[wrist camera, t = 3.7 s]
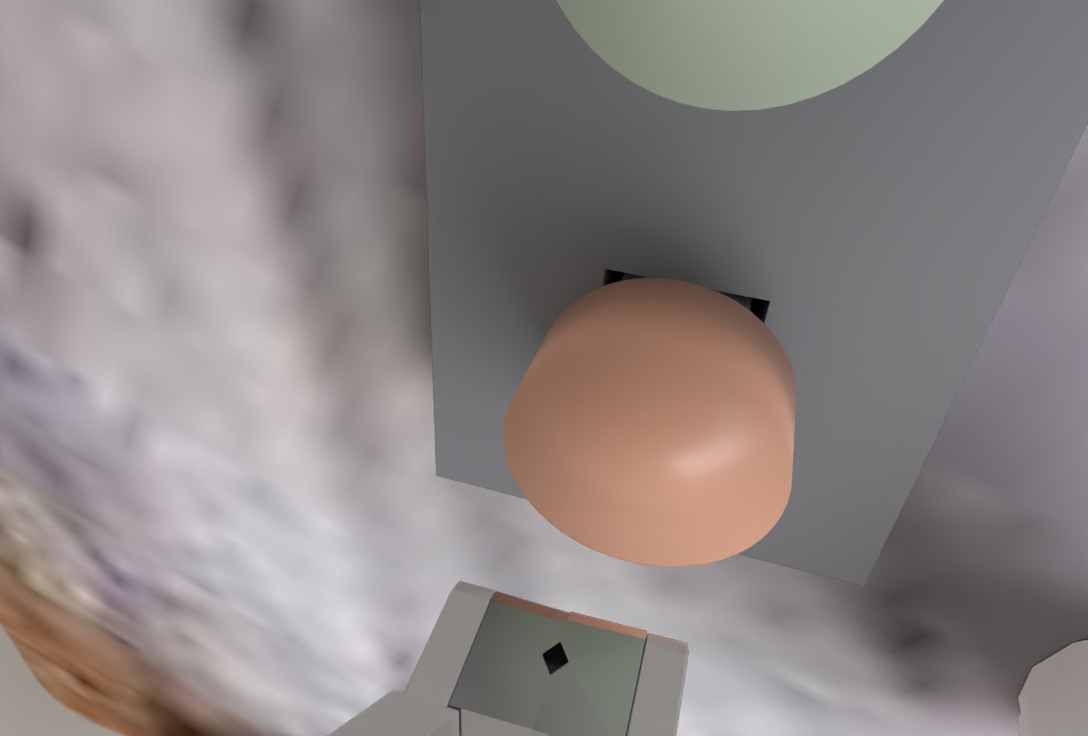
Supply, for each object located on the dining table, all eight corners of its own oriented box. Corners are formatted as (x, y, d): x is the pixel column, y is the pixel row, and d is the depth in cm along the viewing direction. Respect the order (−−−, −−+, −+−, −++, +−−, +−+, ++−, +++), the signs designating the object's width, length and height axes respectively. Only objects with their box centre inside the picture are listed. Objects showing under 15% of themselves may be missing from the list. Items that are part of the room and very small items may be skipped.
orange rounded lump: (829, 233, 14) (829, 384, 11) (770, 424, 17) (754, 595, 13) (584, 191, 15) (507, 315, 12) (567, 378, 18) (500, 526, 14)
